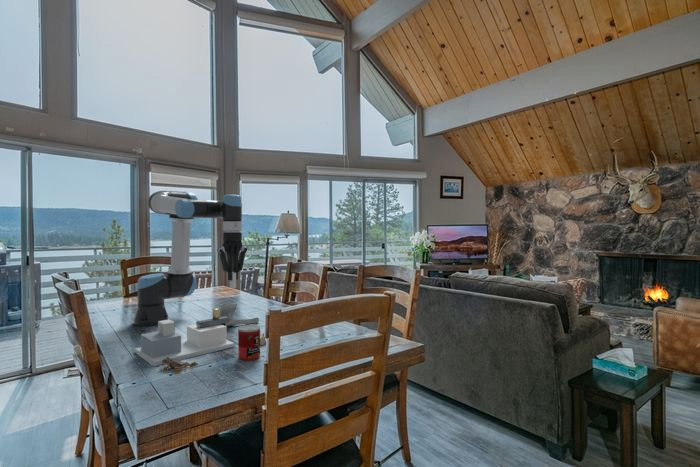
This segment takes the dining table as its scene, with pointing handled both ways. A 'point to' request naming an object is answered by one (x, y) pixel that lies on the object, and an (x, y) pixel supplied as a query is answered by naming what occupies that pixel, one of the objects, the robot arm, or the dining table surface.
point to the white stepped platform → (181, 342)
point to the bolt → (213, 320)
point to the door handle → (229, 312)
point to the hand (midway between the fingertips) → (233, 287)
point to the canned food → (249, 342)
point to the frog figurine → (178, 365)
